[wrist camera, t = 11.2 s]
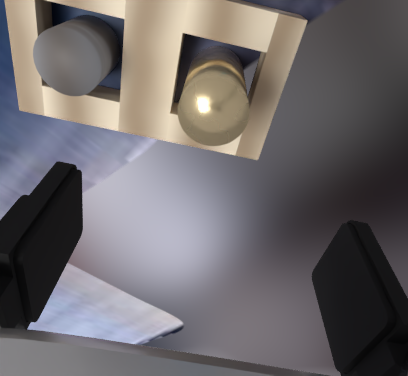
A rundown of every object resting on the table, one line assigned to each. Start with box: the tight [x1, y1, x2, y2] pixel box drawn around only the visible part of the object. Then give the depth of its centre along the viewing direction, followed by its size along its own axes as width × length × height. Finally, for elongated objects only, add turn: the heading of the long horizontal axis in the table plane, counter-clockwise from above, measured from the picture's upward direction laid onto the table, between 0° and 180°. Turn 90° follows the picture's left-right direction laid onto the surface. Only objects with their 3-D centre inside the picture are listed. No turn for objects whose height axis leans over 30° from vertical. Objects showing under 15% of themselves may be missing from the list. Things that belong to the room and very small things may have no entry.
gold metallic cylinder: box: [178, 46, 250, 146], centre depth 23 cm, size 4×4×8 cm
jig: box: [5, 0, 308, 160], centre depth 24 cm, size 20×11×5 cm, turn 78°
